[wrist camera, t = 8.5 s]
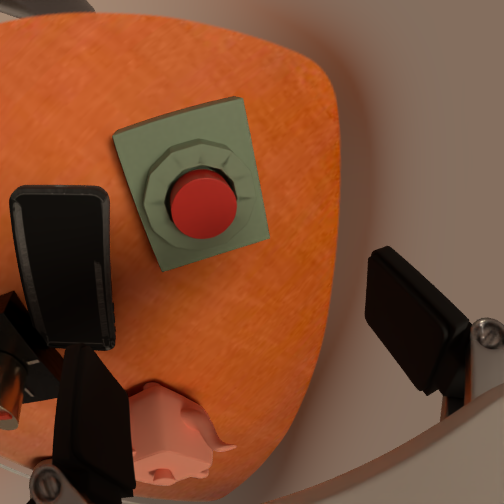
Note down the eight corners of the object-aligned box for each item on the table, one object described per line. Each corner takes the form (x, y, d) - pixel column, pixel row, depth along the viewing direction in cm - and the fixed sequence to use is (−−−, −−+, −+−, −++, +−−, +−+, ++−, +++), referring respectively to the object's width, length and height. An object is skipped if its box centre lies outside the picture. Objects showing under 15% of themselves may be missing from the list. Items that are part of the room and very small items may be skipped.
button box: (116, 130, 18) (107, 141, 15) (234, 95, 19) (251, 99, 16) (161, 256, 24) (163, 287, 21) (261, 225, 25) (278, 251, 22)
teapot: (194, 433, 38) (209, 498, 30) (106, 430, 34) (110, 500, 25) (215, 368, 32) (239, 452, 24) (100, 362, 28) (98, 453, 19)
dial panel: (-44, 313, 20) (-56, 335, 18) (13, 290, 21) (2, 314, 19) (15, 384, 26) (10, 406, 24) (74, 372, 27) (72, 396, 25)
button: (162, 179, 17) (162, 189, 16) (223, 161, 18) (229, 169, 16) (179, 233, 19) (182, 247, 18) (236, 216, 20) (243, 228, 18)
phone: (38, 346, 24) (7, 188, 17) (41, 338, 25) (13, 183, 18) (117, 351, 26) (110, 190, 20) (118, 342, 27) (112, 184, 20)
